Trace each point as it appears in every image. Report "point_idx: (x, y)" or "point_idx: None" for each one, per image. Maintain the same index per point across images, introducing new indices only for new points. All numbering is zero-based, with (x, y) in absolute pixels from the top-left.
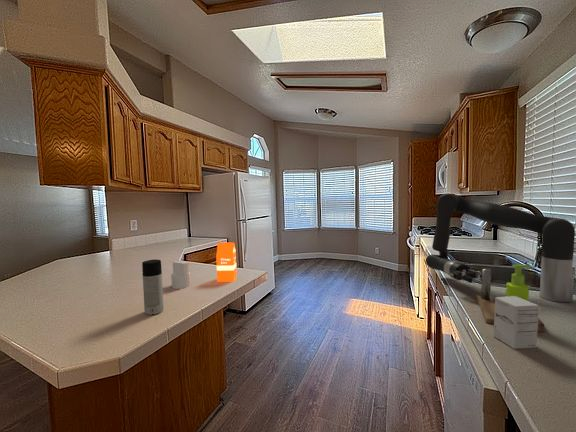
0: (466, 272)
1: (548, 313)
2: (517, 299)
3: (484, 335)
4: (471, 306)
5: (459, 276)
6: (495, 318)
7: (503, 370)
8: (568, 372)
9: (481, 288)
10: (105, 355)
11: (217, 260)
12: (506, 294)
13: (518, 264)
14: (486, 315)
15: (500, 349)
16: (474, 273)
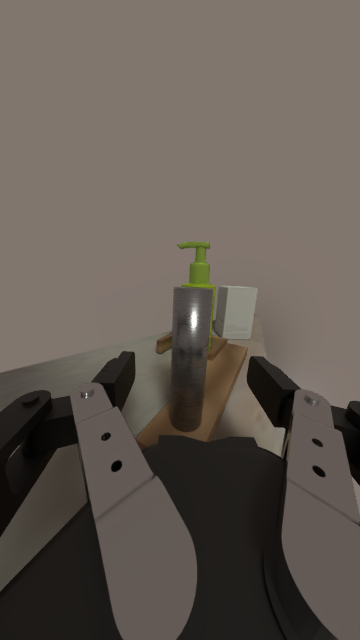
0: (266, 503)
1: (86, 367)
2: (233, 286)
3: (260, 341)
4: (252, 409)
5: (345, 414)
6: (252, 315)
7: (259, 323)
8: (215, 320)
9: (204, 384)
10: None
11: None
12: (213, 307)
13: (198, 242)
14: (242, 352)
15: (251, 331)
16: (159, 444)
